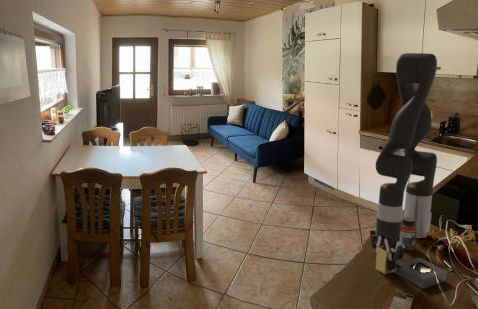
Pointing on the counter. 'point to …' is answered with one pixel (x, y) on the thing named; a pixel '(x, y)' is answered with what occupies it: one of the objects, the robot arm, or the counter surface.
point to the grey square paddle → (417, 277)
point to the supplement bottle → (408, 233)
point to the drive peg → (382, 260)
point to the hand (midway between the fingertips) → (385, 266)
